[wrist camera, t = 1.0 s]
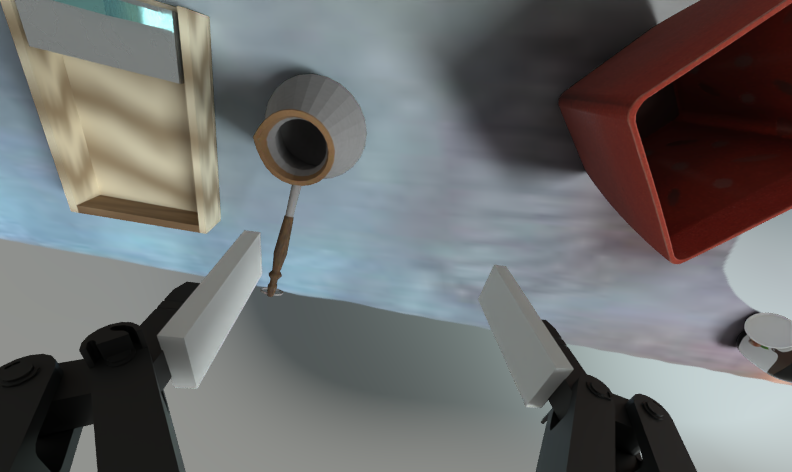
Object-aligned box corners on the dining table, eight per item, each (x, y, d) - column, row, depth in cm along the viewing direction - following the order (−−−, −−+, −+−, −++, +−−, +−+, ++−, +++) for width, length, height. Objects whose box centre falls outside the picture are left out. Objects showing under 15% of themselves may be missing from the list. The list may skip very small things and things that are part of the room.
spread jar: (747, 349, 65) (815, 399, 55) (711, 343, 63) (775, 394, 53) (794, 313, 60) (881, 361, 49) (757, 304, 57) (839, 353, 47)
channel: (34, -35, 26) (-18, -52, 23) (209, 16, 29) (186, 8, 25) (99, 198, 37) (71, 211, 34) (220, 220, 40) (206, 233, 37)
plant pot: (572, 204, 43) (674, 270, 28) (519, 94, 35) (626, 107, 20) (705, 121, 38) (914, 149, 23) (681, -29, 30) (979, -132, 15)
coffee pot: (279, 58, 31) (211, 44, 18) (378, 94, 33) (381, 105, 20) (260, 222, 41) (207, 290, 28) (338, 241, 43) (323, 311, 30)
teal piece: (42, -27, 26) (-102, -71, 18) (191, 17, 28) (121, -6, 20) (62, 49, 29) (-55, 38, 21) (196, 83, 31) (136, 85, 23)
